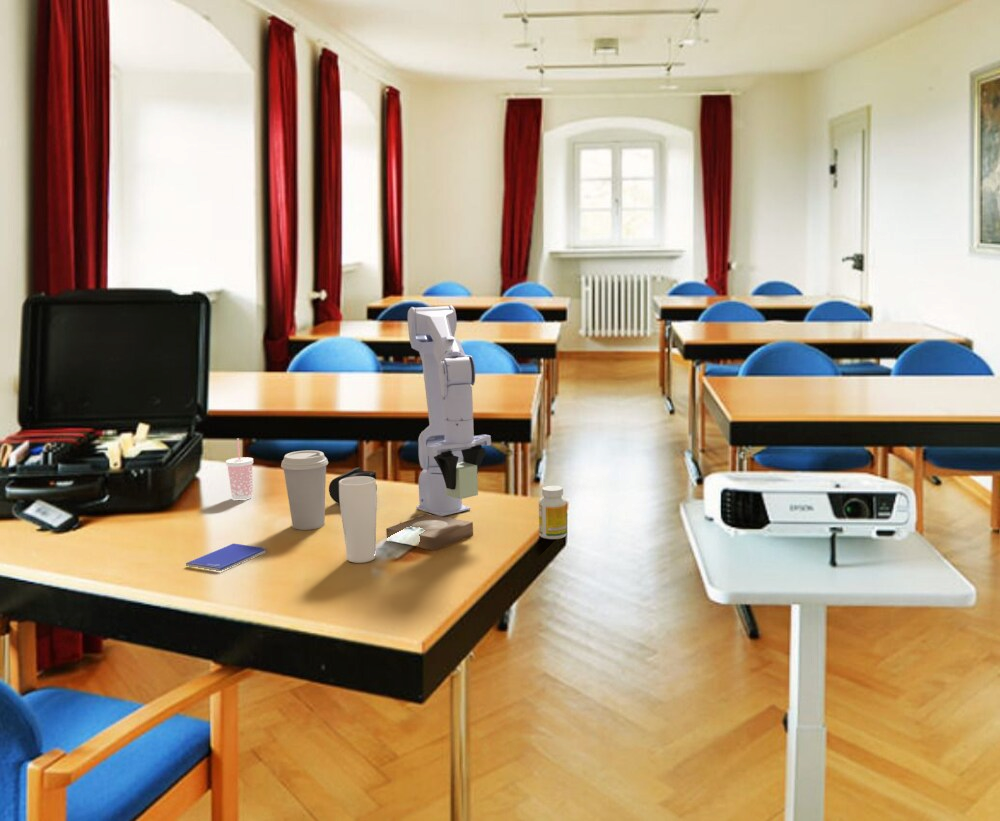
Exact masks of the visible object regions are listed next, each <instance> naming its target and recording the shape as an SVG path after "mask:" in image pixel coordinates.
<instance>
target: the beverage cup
mask: <svg viewBox="0 0 1000 821" xmlns="http://www.w3.org/2000/svg"><path fill="white" fill-rule="evenodd" d="M236 443H237V445H236V446H237V457H232V458H229V459H226V460H225V463H226V465H225V466H227V471H228V472H227V473H228V479H229V486H230V494H231V499H232V498H233V499H247V498H251V497H252V496H253V494H254V493H253V492H254V491H253V490H254V489H253V486H254V485H253V464H254V458H253V457H247V456H246V457H245V456H244V457H241V448H240V447H241V446H240V445H241V444H240V438H239V437H238V438H236ZM253 497H254V496H253ZM251 499H252V498H251Z"/></svg>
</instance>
